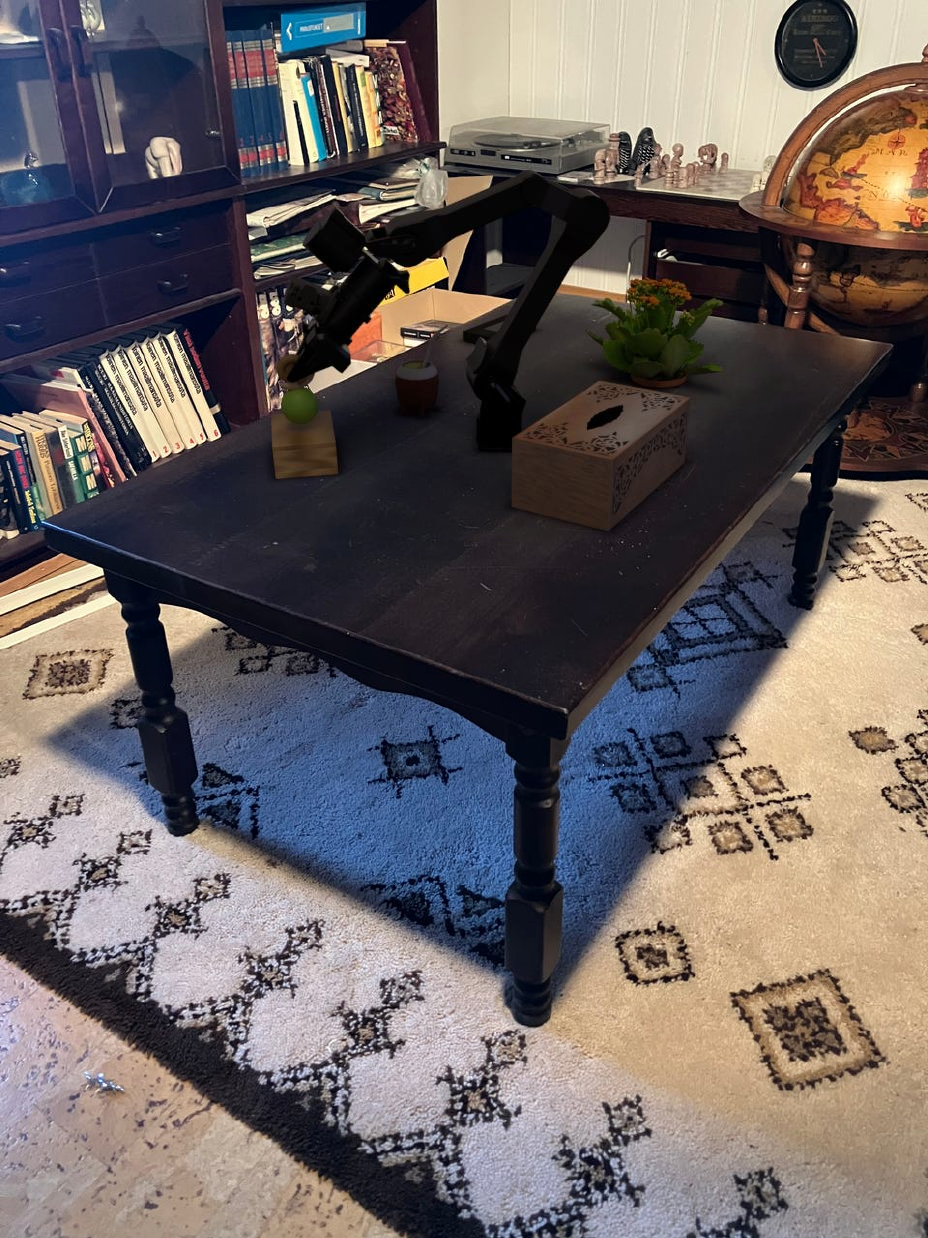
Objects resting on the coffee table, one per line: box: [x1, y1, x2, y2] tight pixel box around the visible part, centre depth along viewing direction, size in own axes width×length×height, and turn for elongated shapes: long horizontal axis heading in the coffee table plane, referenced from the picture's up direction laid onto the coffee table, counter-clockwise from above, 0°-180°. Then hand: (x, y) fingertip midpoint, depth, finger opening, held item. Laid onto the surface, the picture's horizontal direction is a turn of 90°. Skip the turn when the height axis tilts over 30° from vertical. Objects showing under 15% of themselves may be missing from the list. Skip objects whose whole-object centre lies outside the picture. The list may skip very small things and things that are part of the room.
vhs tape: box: [462, 314, 537, 345], centre depth 208 cm, size 8×14×2 cm, turn 141°
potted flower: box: [584, 276, 724, 389], centre depth 180 cm, size 25×24×18 cm
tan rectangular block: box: [270, 409, 339, 480], centre depth 156 cm, size 9×13×5 cm
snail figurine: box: [276, 353, 319, 424], centre depth 151 cm, size 5×6×12 cm
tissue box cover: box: [511, 380, 692, 533], centre depth 146 cm, size 26×14×10 cm, turn 148°
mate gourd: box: [394, 324, 449, 419], centre depth 170 cm, size 8×8×15 cm
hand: (288, 378), depth 151 cm, fingers closed on snail figurine
